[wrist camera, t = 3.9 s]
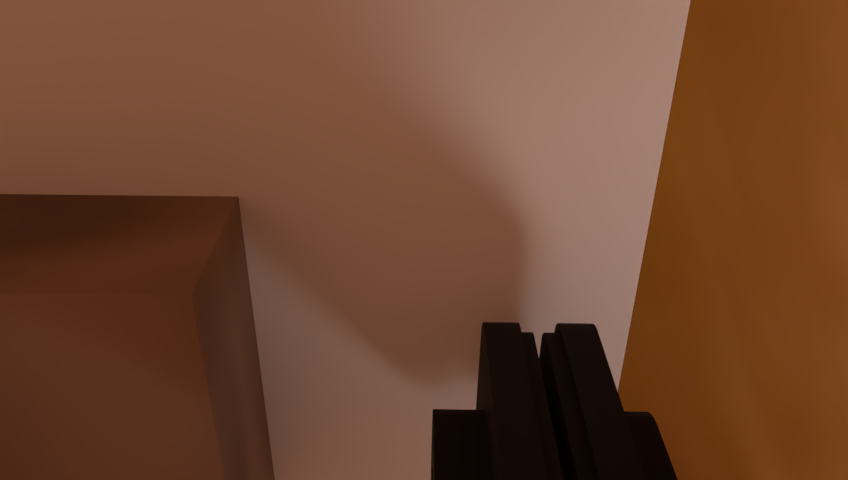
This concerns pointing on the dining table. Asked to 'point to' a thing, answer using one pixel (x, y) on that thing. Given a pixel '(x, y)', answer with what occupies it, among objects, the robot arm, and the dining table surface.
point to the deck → (367, 179)
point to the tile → (128, 341)
